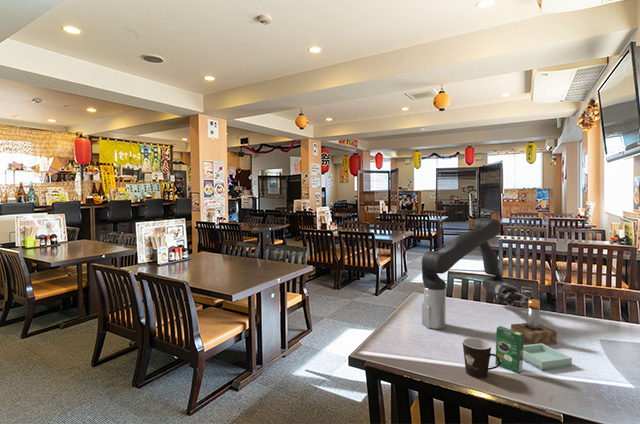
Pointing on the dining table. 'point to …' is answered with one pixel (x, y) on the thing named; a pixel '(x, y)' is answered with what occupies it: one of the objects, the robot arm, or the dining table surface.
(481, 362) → the coffee mug
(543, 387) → the dining table surface
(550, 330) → the block
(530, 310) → the pin
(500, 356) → the coffee box
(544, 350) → the tray
